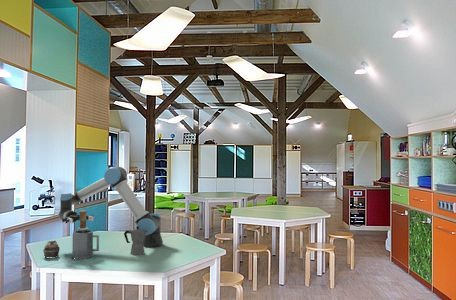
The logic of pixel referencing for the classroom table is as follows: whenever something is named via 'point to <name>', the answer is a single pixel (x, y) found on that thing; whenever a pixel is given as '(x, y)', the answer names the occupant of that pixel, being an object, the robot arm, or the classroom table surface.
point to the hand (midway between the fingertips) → (82, 220)
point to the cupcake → (51, 249)
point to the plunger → (83, 220)
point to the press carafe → (83, 244)
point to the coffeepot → (136, 241)
